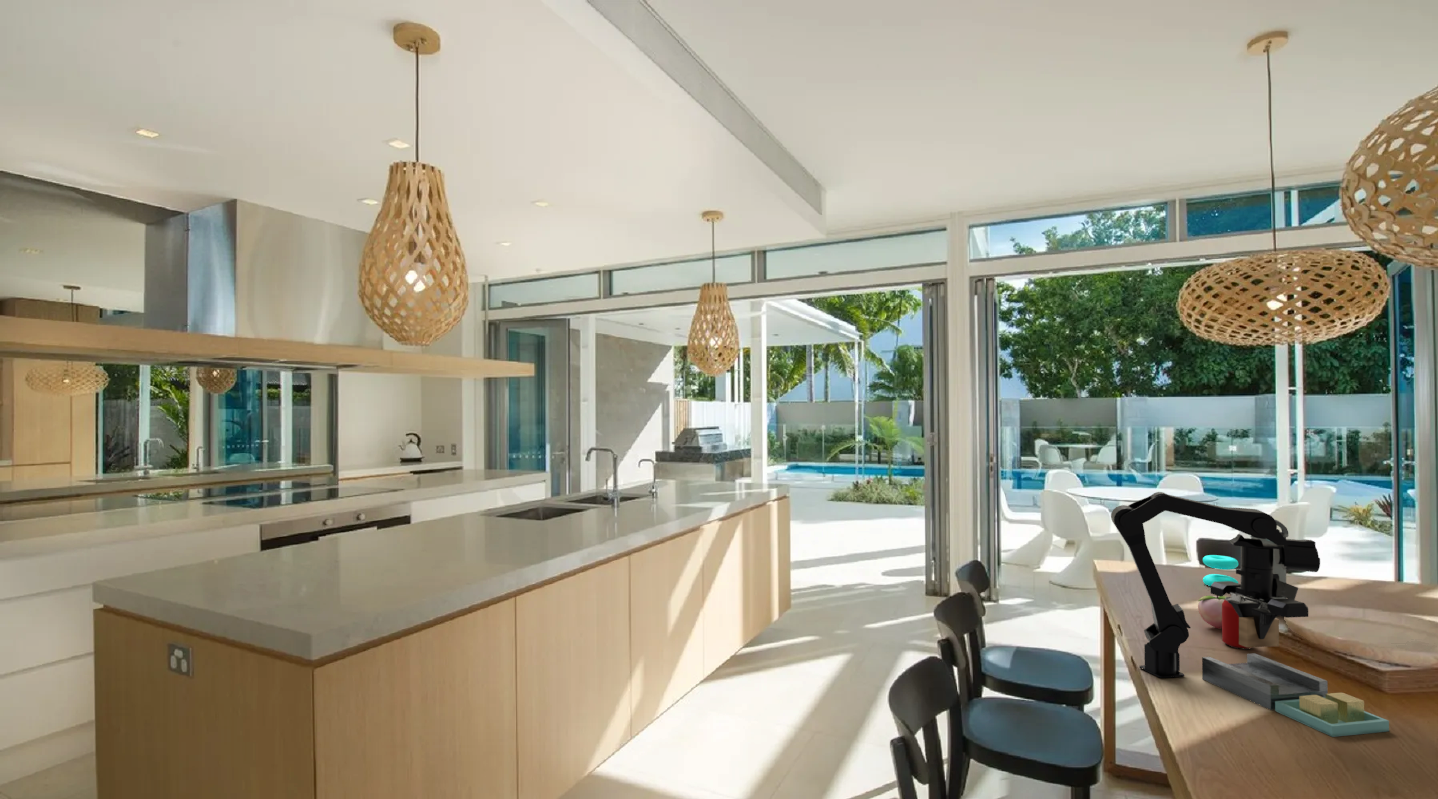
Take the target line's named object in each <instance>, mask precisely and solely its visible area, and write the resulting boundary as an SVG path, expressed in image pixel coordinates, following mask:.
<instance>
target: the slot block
mask: <svg viewBox="0 0 1438 799" xmlns="http://www.w3.org/2000/svg"><path fill="white" fill-rule="evenodd" d="M1201 661H1202V662H1201V664H1202V665H1201V667H1202V668H1201V672H1202V673H1201V674H1202V676H1201V679H1202V680H1203V681H1205V680H1206V681H1205V682H1207V681H1208V682H1207V683H1210V684H1212V685H1215V686H1216V687H1219V688H1221V689H1223V690H1225V691H1228V692H1230V693H1231V694H1234V695H1236V696H1239V697H1240V696H1241V698H1243V699H1245V700H1247V701H1249V700H1251V701H1252V703H1254V702H1255V703H1254V704H1256V705H1258V704H1260V705H1261V707H1263V708H1264V709H1267V708H1268V709H1267V710H1269V709H1270V710H1269V711H1275V701H1284V700H1295V699H1299V696H1308V695H1318V696H1321V697H1326V695H1325V694H1329V693H1328V680H1326V679H1325V678H1321V677H1318V676H1315V675H1313V674H1310V673H1308V672H1304V671H1302V670H1300V669H1297V668H1296V667H1292V666H1288V665H1287V664H1284V663H1281V662H1278V661H1276V660H1274V659H1270V658H1268V657H1265V656H1263V655H1260V654H1258V653H1255V652H1254V653H1247V654H1246V662H1238V663H1237V662H1236V663H1226V662H1224V661H1221V660H1220V659H1216V658H1214V657H1211V656H1203V657H1201ZM1251 701H1250V702H1251ZM1260 705H1259V706H1260Z"/></svg>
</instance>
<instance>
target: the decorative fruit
mask: <svg viewBox="0 0 1438 799" xmlns="http://www.w3.org/2000/svg"><path fill="white" fill-rule="evenodd" d="M1226 597H1228V596H1226V595H1223V596H1217V595H1204V596H1201V598H1199V599H1198V604H1197V609H1198V612H1199V613H1198V614H1199V616H1200V617H1201V619H1202V620H1203V621H1204V622H1205V623H1206V624H1208V625H1210V626H1211V627H1214V628H1215V629H1218V630H1219V629H1222V603H1223V601H1224V600H1225V598H1226Z"/></svg>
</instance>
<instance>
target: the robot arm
mask: <svg viewBox="0 0 1438 799" xmlns="http://www.w3.org/2000/svg"><path fill="white" fill-rule="evenodd" d="M1163 512H1170V513H1173V514H1178V515H1183V516H1187V517H1191V518H1196V519H1200V520H1203V521H1204V520H1205V521H1208V522H1212V523H1216V524H1221V525H1223V526H1227V527H1229V528H1231V529H1232V530H1233V529H1234V530H1236V531H1238V532H1240V533H1243V534H1245V535H1249V536H1253V537H1256V538H1260V539H1267V540H1269V541H1271V542H1273V543H1275V544H1265V543H1262V541H1261V540H1260V539H1251V537H1249V538H1248V537H1244V536H1243V535H1242V534H1240V533H1238V534H1237V535H1236V536H1235V537H1233V538H1232V539H1230V540H1229V543H1230V544H1232V545H1233V546H1235V547H1240V568H1235V574H1236V575H1239V576H1240V583H1239V582H1238V583H1239V584H1238V583H1235V582H1231V581H1222V582H1213V584H1212V585H1211V587H1210V594H1212V595H1213V596H1226V594H1229V595H1230V597H1231V600H1228V603H1230V604H1231V605H1232V606H1233V608H1234V609H1235V611H1236V613H1237V614H1238V616H1239V617H1254V622H1255V627H1256V632H1257V635H1258V638H1259V639H1264V638H1265V636H1266V634H1267V632H1268V630H1269V628H1270V626H1271V624H1272V622H1273V621H1274V619H1275V618H1278V617H1283V618H1308V617H1309V607H1308V605H1306V603H1305V602H1301V601H1299V600H1296V597H1297V595H1298V594H1297V593H1298V591H1299V587H1297V586H1295V585H1292V584H1289V583H1287V582H1286V583H1284V582H1282V581H1280V580H1279V575H1278V574H1277V573H1273V549H1274V559H1275V562H1276V564H1280V565H1281V567H1282V569H1286V571H1288V570H1289V571H1299V572H1300V571H1301V572H1312V573H1318V572H1319V570H1320V567H1321V558H1320V557H1319V556H1320V555H1319V552H1318V549H1317V547H1316V542H1315V540H1312V539H1290V538H1286V539H1285V538H1284V536H1282V534H1281V533H1280V532H1281V531H1280V532H1279V531H1278V530H1279V529H1278V526H1277V524H1276V521H1275V520H1276V519H1275V518H1274V517H1273V516H1272V515H1270V514H1268V513H1266V512H1264V511H1262V510H1259V509H1255V508H1246V507H1245V508H1243V507H1226V506H1219V505H1215V504H1211V503H1206V502H1202V501H1198V500H1193V499H1189V498H1185V497H1180V496H1176V495H1173V494H1167V493H1165V492H1162V491H1156V492H1154V493H1152V494H1150V495H1149V496H1148V497H1145V498H1142V499H1139V500H1136V501H1134V502H1133V503H1130V504H1128V505H1125V504H1124V505H1123V504H1122V505H1117V506H1115V508H1113V509H1112V511H1111V513H1110V520H1111V522H1112V523H1113V525H1114V527H1115V528H1116V530H1117V532H1118V533H1119V534H1120V536H1121V537H1122V539H1123V540H1124V542H1125V543H1126V545H1127V546H1128V550H1129V552H1130V554H1131V557H1132V559H1133V562H1134V564H1135V566H1136V569H1137V571H1138V573H1139V576H1140V578H1141V581H1142V583H1143V586H1144V588H1145V591H1146V593H1147V596H1148V598H1149V600H1150V606H1151V613H1152V619H1153V623H1152V624H1151V625H1149V626H1148V627H1146V628H1145V629H1144V630H1143V633H1144V635H1145V637H1146V640H1147V641H1148V642H1147V643H1144V644H1143V646H1144V648H1143V649H1144V664H1143V665H1139V666H1138V667H1139V668H1140V669H1141V668H1143V669H1144V670H1143V669H1142V670H1143V671H1145V672H1147V673H1149V674H1151V675H1153V676H1155V677H1157V678H1160V679H1166V678H1179V677H1185V673H1183V672H1181V670H1180V668H1181V667H1180V665H1181V664H1180V658H1181V657H1180V655H1181V654H1180V652H1179V648H1180V646H1181V645H1182V644H1184V643H1185V642H1186V641H1187V640H1188V638H1189V637H1190V633H1189V630H1188V629H1191V626H1190V625H1189V623H1188V622H1187V621H1186V617H1185V616H1186V615H1185V611H1184V609H1183V608H1182V607H1181V606H1180V605H1179V603H1176V604H1172V602H1171V601H1170V599H1169V596H1168V593H1167V592H1166V589H1165V587H1164V584H1163V582H1162V579H1161V576H1160V574H1159V572H1158V570H1157V567H1156V564H1155V563H1154V560H1153V557H1152V555H1151V552H1150V551H1149V547H1148V545H1147V541H1146V532H1145V527H1144V524H1145V523H1146V522H1149V521H1150V520H1152V519H1154V518H1155V517H1157V516H1158V515H1160V514H1161V513H1163ZM1274 519H1275V520H1274ZM1277 529H1278V530H1277ZM1250 596H1251V597H1250ZM1273 597H1276V598H1282V597H1284V598H1287V599H1273ZM1260 599H1263V600H1260ZM1259 606H1260V608H1259Z"/></svg>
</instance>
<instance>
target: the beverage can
mask: <svg viewBox="0 0 1438 799" xmlns="http://www.w3.org/2000/svg"><path fill="white" fill-rule="evenodd" d="M1228 600H1231V596H1227V597H1226V598H1225V600H1224V601H1223V603H1222V628H1221V635H1222V636H1221V637H1222V638H1221V639H1222V640H1221V641H1222V642H1223V643H1224V644H1226V645H1227V646H1228V645H1229V646H1228V647H1230V646H1231V648H1233V649H1238V648H1244V649H1243V650H1250V649H1251V648H1253V647H1244V646H1242V645H1239V616H1238V614H1237V613H1236V611H1235V609H1234V608H1233V606H1232V605H1231V604H1230V603H1228ZM1249 648H1250V649H1249Z"/></svg>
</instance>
